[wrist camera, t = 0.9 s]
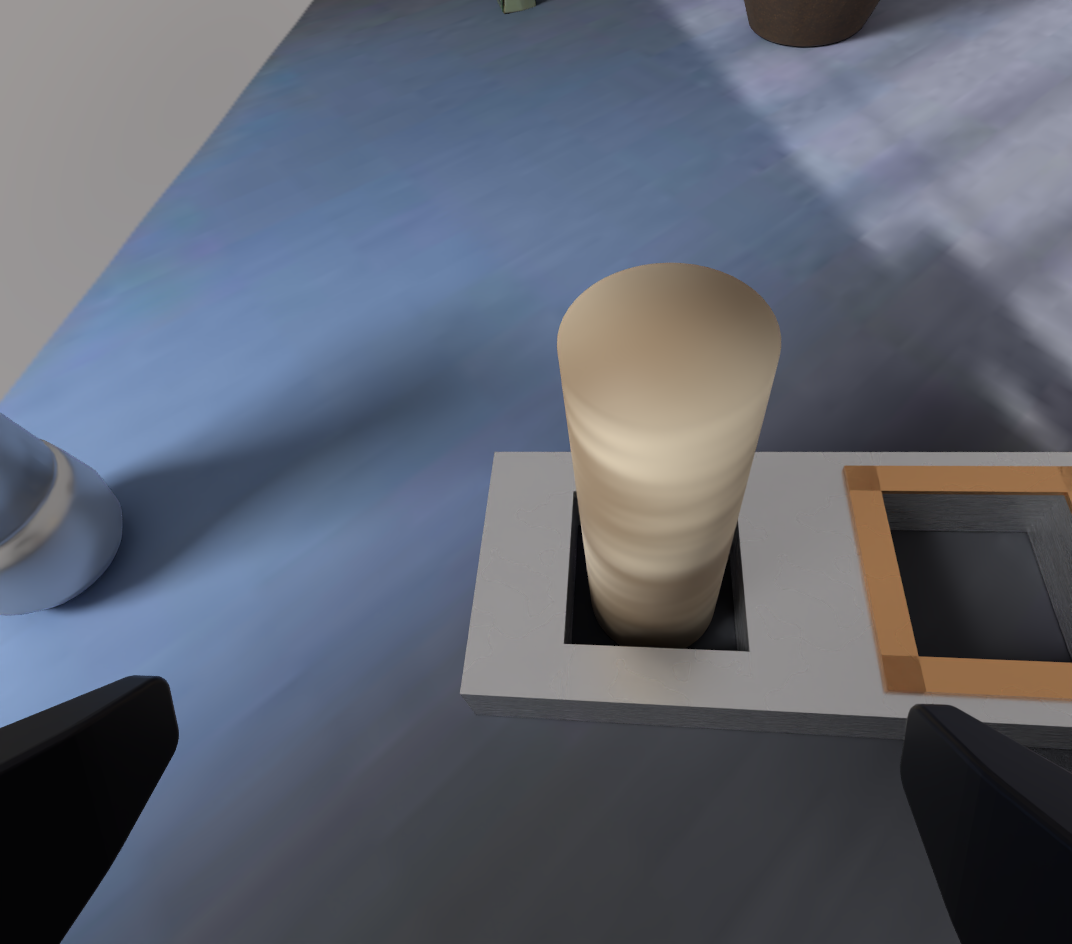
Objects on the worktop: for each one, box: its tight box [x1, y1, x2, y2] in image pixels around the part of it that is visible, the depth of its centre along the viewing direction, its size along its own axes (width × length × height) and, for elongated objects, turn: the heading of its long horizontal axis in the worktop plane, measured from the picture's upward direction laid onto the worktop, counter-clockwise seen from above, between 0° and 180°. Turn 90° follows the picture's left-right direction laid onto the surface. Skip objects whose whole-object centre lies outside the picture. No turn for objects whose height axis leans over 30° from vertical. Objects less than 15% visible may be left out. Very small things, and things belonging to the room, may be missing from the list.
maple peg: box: [557, 263, 781, 649], centre depth 19 cm, size 4×4×13 cm
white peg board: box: [460, 452, 1072, 750], centre depth 22 cm, size 22×9×3 cm, turn 85°
